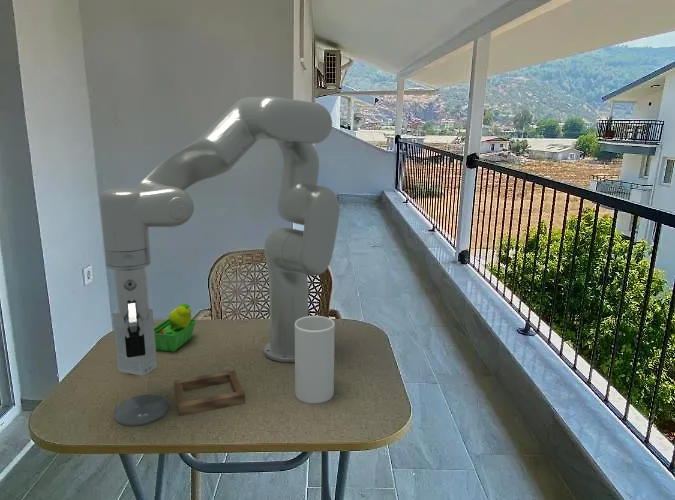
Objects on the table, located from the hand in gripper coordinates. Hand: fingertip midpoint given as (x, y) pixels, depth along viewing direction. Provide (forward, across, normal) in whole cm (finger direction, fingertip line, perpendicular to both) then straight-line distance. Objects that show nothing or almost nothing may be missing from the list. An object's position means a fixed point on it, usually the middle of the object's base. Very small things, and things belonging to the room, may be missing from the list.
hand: (135, 346), depth 92 cm
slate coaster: (+14, 0, 0) cm, 14 cm away
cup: (+14, -6, -34) cm, 37 cm away
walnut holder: (+14, +1, -13) cm, 19 cm away
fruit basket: (+14, +30, -9) cm, 34 cm away
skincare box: (+5, 0, 0) cm, 5 cm away
